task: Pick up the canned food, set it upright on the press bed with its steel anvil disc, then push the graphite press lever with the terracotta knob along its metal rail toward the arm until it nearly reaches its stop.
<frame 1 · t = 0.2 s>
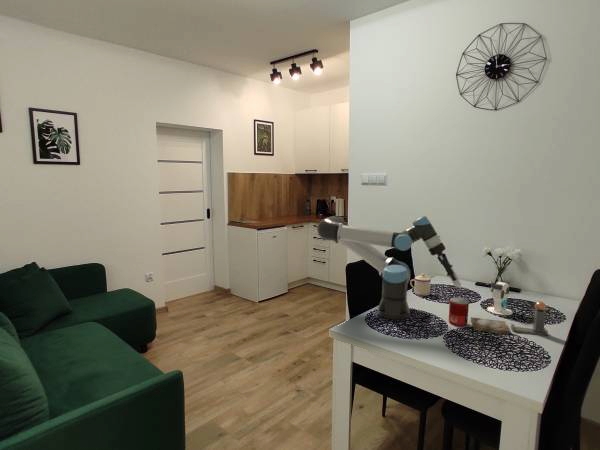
hand: (457, 283, 181), 15 cm above the table, tool tilted 30°, fingers open, 13 cm apart
press lever: (539, 316, 158), point 8 cm above the table, slide at 7.0 cm
teacup with lid: (419, 293, 216), on the table
panda figurine: (499, 311, 186), on the table
canned food: (457, 323, 170), on the table
lever rail: (528, 332, 160), on the table
press bed: (489, 327, 166), on the table
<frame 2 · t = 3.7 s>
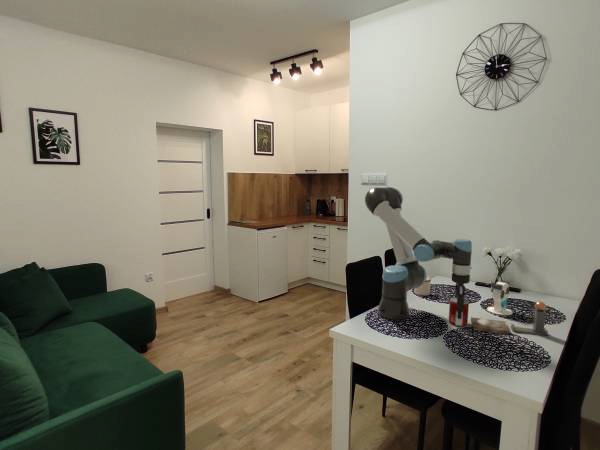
hand: (458, 321, 170), 1 cm above the table, tool pointing down, fingers closed on canned food, 8 cm apart
canned food: (457, 323, 170), on the table, touching gripper
everything else where it was.
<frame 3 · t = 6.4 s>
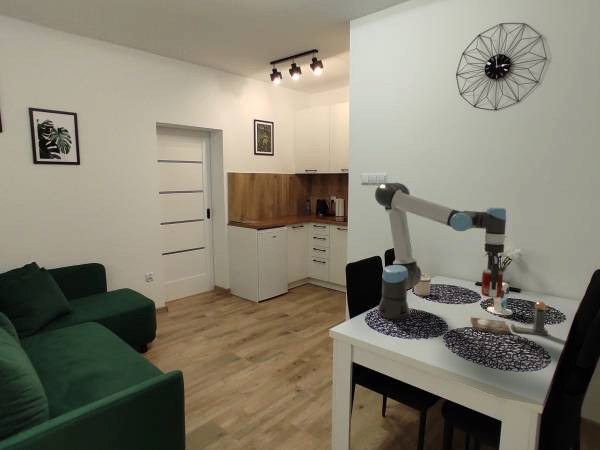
hand: (491, 293, 164), 15 cm above the table, tool pointing down, fingers closed on canned food, 8 cm apart
canned food: (491, 295, 164), point 15 cm above the table, touching gripper
everything else where it was.
when the fingers open (4 cm above the table, at t = 9.3 s): canned food drops 1 cm, resting on press bed.
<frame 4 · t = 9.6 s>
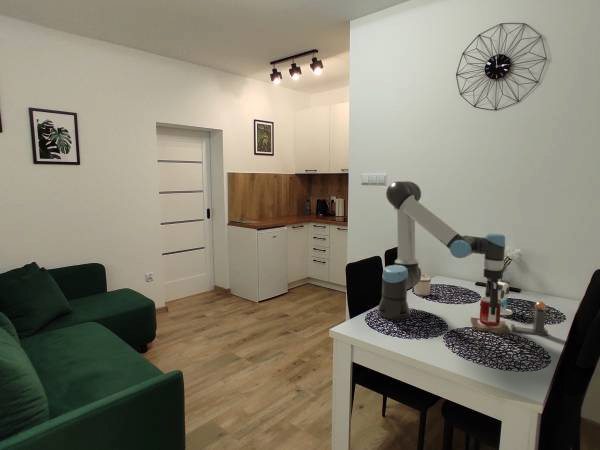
hand: (489, 316, 165), 5 cm above the table, tool pointing down, fingers open, 11 cm apart
canned food: (489, 323, 165), point 2 cm above the table, touching press bed
everything else where it was.
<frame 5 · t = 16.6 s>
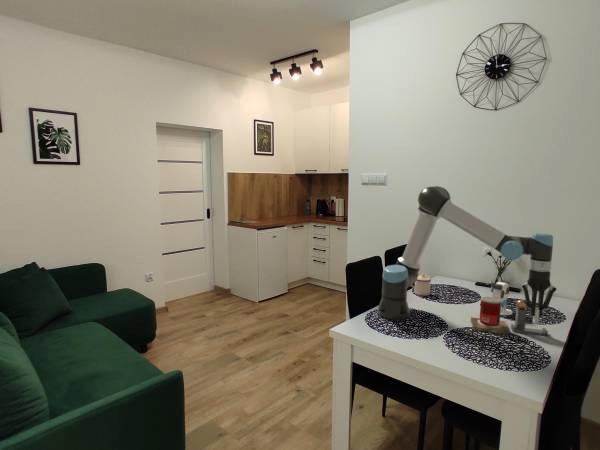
hand: (535, 323, 159), 4 cm above the table, tool pointing down, fingers closed
press lever: (520, 314, 161), point 8 cm above the table, slide at -0.1 cm, touching hand
everything else where it was.
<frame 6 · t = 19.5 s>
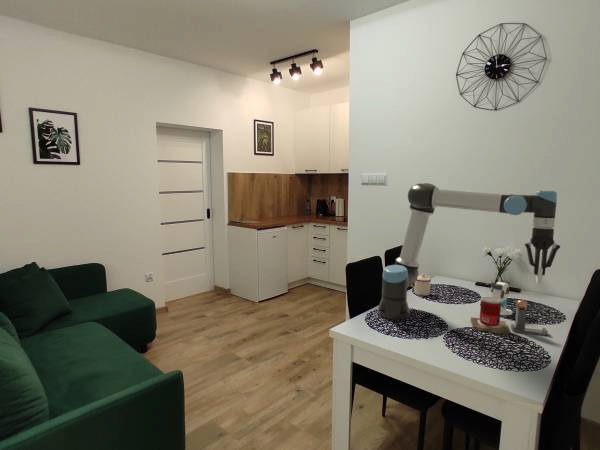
hand: (538, 282, 157), 22 cm above the table, tool pointing down, fingers closed
press lever: (520, 314, 161), point 8 cm above the table, slide at 0.0 cm
everything else where it was.
at the end: canned food inside the target area on the press bed (0.1 cm from its centre), point 1.6 cm above the press bed's base; canned food tilted 0°; press lever slide at 0.0 cm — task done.
